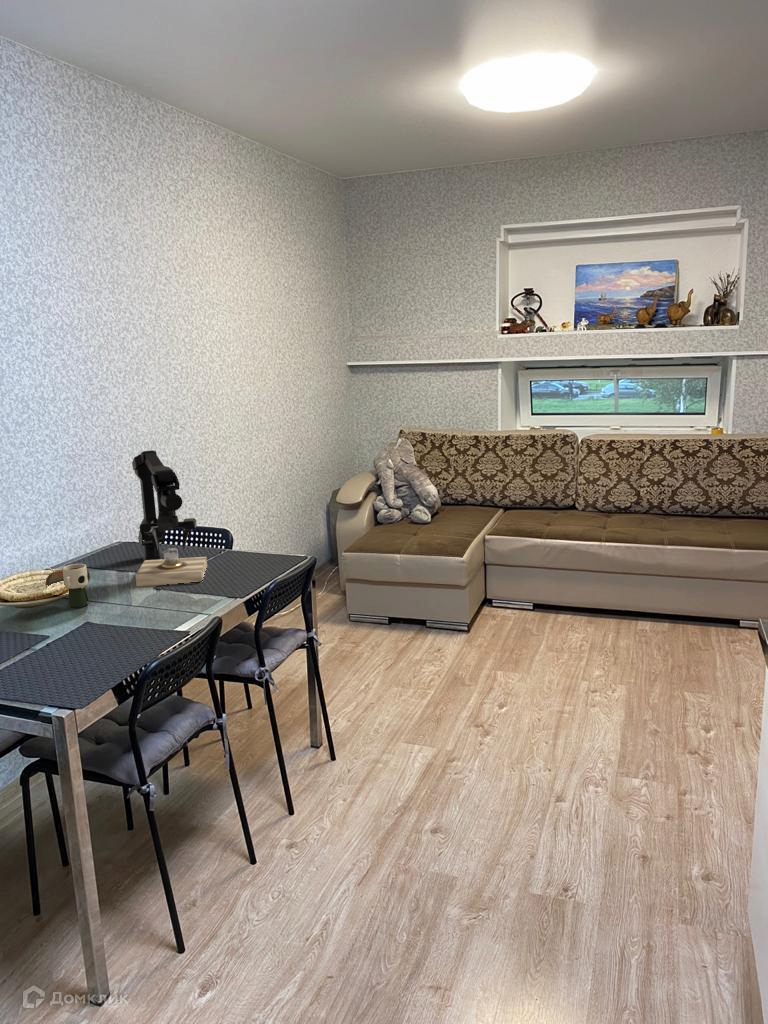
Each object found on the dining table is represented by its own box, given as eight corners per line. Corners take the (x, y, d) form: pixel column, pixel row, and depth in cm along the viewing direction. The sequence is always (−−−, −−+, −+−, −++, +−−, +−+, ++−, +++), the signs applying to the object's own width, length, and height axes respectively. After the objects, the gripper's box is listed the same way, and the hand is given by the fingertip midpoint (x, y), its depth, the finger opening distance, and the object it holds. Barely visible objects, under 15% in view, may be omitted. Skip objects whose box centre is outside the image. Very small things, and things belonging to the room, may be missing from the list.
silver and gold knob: (164, 573, 280) (161, 547, 278) (184, 571, 281) (182, 546, 279) (161, 579, 274) (158, 553, 271) (181, 577, 274) (179, 552, 272)
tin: (50, 599, 257) (47, 575, 255) (45, 597, 259) (42, 573, 257) (91, 586, 269) (88, 563, 267) (86, 585, 271) (83, 562, 269)
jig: (145, 570, 285) (144, 560, 284) (207, 567, 287) (206, 556, 286) (136, 586, 268) (135, 575, 267) (202, 582, 270) (201, 571, 269)
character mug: (81, 611, 245) (76, 572, 242) (59, 611, 246) (54, 571, 243) (97, 600, 255) (93, 561, 252) (77, 599, 256) (72, 561, 253)
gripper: (134, 512, 263) (139, 557, 266) (191, 509, 265) (195, 553, 268) (140, 505, 273) (144, 548, 277) (194, 502, 275) (198, 544, 279)
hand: (170, 548), depth 275 cm, fingers open, 9 cm apart
